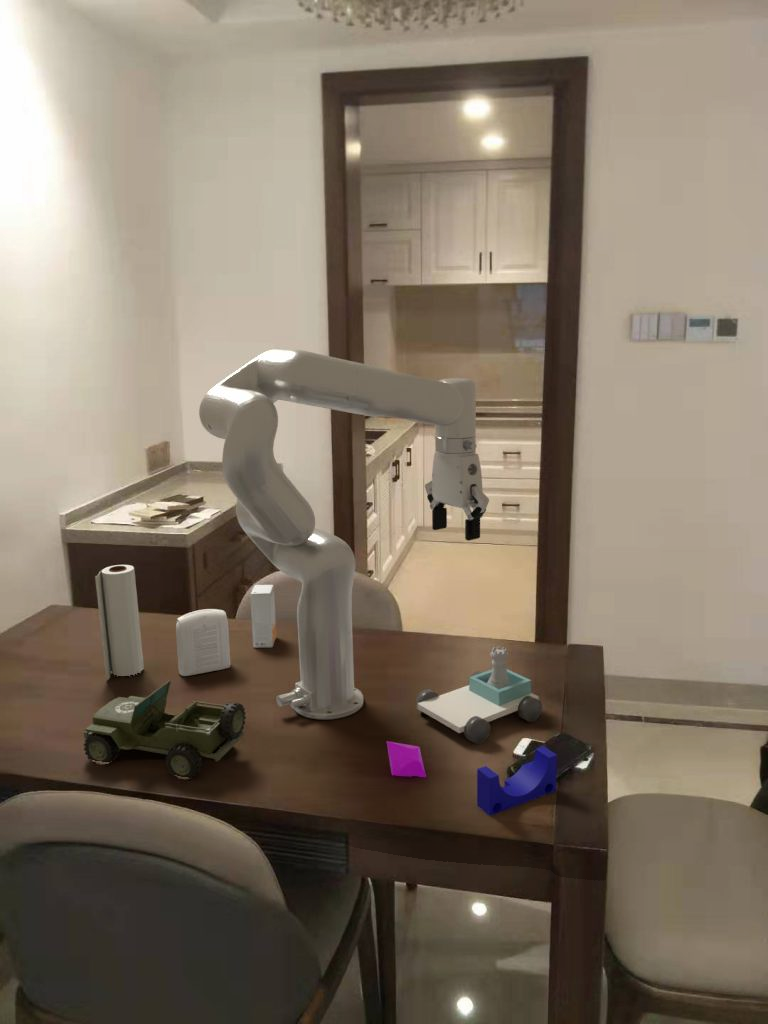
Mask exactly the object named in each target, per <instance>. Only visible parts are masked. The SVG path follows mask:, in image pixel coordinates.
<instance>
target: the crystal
mask: <svg viewBox="0 0 768 1024" xmlns="http://www.w3.org/2000/svg"><path fill="white" fill-rule="evenodd" d="M386 745H387V746H386V747H387V753H388V760H389V767H390V772H391V775H392V776H394V775H395V777H396V776H397V777H412V776H418V777H417V778H426V777H427V774H426V771H425V766H424V760H423V756H422V752H421V748H420V746H418V745H417V746H416V745H413V744H405V743H401V742H394V741H388V740H386Z"/></svg>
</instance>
